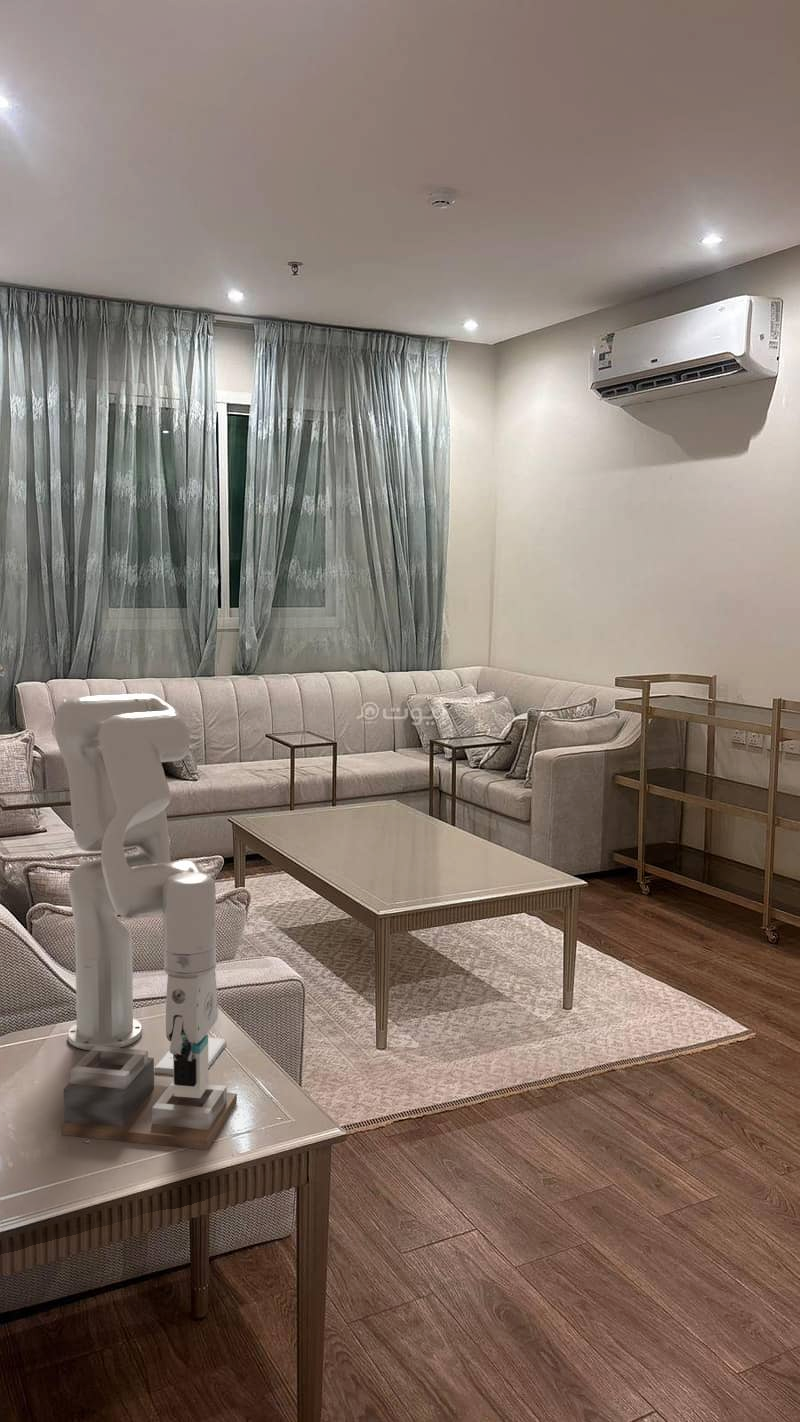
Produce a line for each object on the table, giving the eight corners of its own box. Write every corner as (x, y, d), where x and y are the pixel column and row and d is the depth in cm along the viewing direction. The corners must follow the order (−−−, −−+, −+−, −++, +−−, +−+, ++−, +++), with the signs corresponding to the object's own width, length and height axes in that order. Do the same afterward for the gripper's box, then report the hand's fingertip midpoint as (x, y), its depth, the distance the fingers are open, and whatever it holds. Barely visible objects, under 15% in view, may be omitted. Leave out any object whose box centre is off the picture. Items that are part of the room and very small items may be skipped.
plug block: (173, 1096, 159) (173, 1044, 158) (182, 1083, 163) (182, 1032, 162) (200, 1098, 158) (199, 1046, 157) (208, 1085, 162) (208, 1034, 161)
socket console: (61, 1134, 157) (60, 1079, 156) (101, 1089, 171) (101, 1038, 170) (207, 1150, 154) (207, 1093, 153) (236, 1102, 167) (236, 1050, 166)
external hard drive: (226, 1047, 188) (202, 1080, 176) (181, 1043, 189) (153, 1075, 177) (226, 1038, 188) (202, 1070, 175) (181, 1034, 189) (153, 1066, 177)
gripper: (195, 981, 149) (196, 1106, 151) (232, 941, 166) (232, 1055, 168) (143, 977, 150) (145, 1102, 153) (185, 938, 167) (186, 1051, 169)
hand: (190, 1076), depth 160 cm, fingers closed on plug block, 4 cm apart
